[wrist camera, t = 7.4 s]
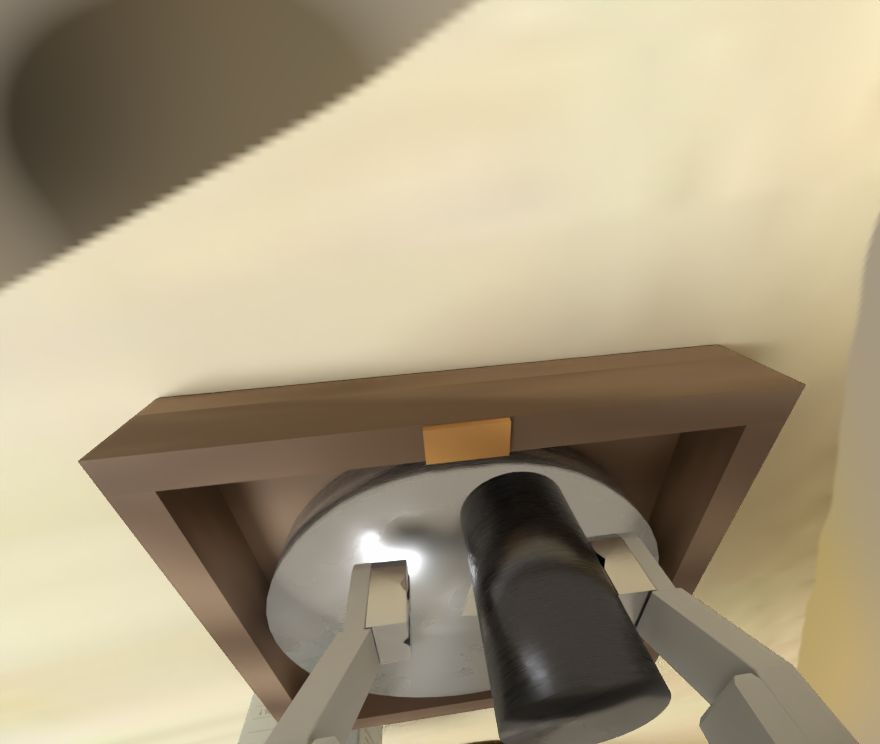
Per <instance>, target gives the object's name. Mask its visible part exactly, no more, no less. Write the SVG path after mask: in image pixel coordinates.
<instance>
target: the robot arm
mask: <svg viewBox="0 0 880 744" xmlns="http://www.w3.org/2000/svg"><path fill="white" fill-rule="evenodd" d="M587 539H588V541H589V543H590V545H591V547H592V548H593V550H594V552H595V554H596V556H597V558H598V560H599V561H600V563H601V565H602V567H603V569H604V571H605V572H606V574H607V576H608V578H609V580H610V582H611V584H612V585H613V587H614V589H615V591H616V593H617V595H618V596H619V598H620V600H621V602H622V604H623V606H624V607H625V609H626V611H627V613H628V615H629V617H630V619H631V620H632V622H633V624H634V626H635V628H636V630H637V631H638V633H639V635H640V637H642V638H643V639H644V640H645V641H646V642H647V643H648V644H649V645H650V646H651V647H652V648H653V649H654V650H655V651H656V652H657V653H658V654H659V655H660V656H661V657H662V658H663V659H664V660H665V661H666V662H667V663H668V664H669V665H670V666H671V667H672V668H673V669H674V670H675V671H676V672H678V673H679V674H680V675H681V676H682V677H683V678H684V679H685V680H686V681H687V682H688V683H689V684H690V685H691V686H692V687H693V688H694V689H695V690H696V691H697V692H698V693H699V694H700V695H701V696H702V697H703V698H704V699H705V700H706V701H707V702H708V703H709V704H710V705H711V706H710V707H709V708H708V709H707V711H706V712H705V713H704V714H703V716H702V717H701V719H700V725H699V726H700V728H701V730H702V731H703V733H704V735H705V737H706V739H707V740H708V742H709V744H859V743H858V742H857V741H856V739H855V738H854V737H853V736H852V735H851V734H850V732H849V731H848V730H847V729H846V728H845V726H844V725H843V724H842V723H841V722H840V721H839V720H838V718H837V717H836V716H835V715H834V713H833V712H832V711H831V710H830V709H829V708H828V707H827V705H826V704H825V703H824V702H823V701H822V699H821V698H820V697H819V696H818V695H817V693H816V692H815V691H814V690H813V689H812V688H811V686H810V685H809V684H808V683H807V682H806V681H805V679H804V678H803V677H802V676H801V674H800V673H799V672H798V671H797V670H796V668H795V667H794V666H793V665H792V664H790V663H789V662H787V661H786V660H785V659H783V658H782V657H780V656H779V655H777V654H776V653H774V652H773V651H772V650H770V649H769V648H767V647H766V646H764V645H763V644H761V643H760V642H759V641H757V640H756V639H754V638H753V637H751V636H750V635H748V634H747V633H746V632H744V631H743V630H741V629H740V628H738V627H737V626H735V625H734V624H733V623H731V622H730V621H728V620H727V619H725V618H724V617H722V616H721V615H720V614H718V613H717V612H715V611H714V610H712V609H711V608H709V607H708V606H707V605H705V604H704V603H702V602H701V601H699V600H698V599H696V598H695V597H694V596H692V595H691V594H689V593H688V592H686V591H685V590H684V589H682V588H675V586H674V585H673V584H672V582H671V581H670V579H669V578H668V577H667V575H666V574H665V572H664V571H663V570H662V568H661V567H660V565H659V564H658V563H657V561H656V560H655V559H654V557H653V556H652V554H651V553H650V552H649V550H648V549H647V547H646V546H645V545H644V543H643V542H642V540H641V539H640V538H639V536H638V535H637V534H635V533H634V532H625V533H617V534H615V533H614V534H607V535H600V536H592V537H587ZM410 613H411V587H410V577H409V575H408V563H407V559H400V560H392V561H383V562H374V563H373V562H371V563H363V564H355V565H354V567H353V570H352V573H351V580H350V587H349V594H348V601H347V608H346V614H345V621H344V628H343V632H338V633H337V634H336V635H335V637H334V638H333V640H332V642H331V643H330V645H329V646H328V648H327V649H326V651H325V652H324V654H323V655H322V657H321V658H320V660H319V661H318V663H317V664H316V666H315V667H314V669H313V670H312V672H311V673H310V675H309V676H308V678H307V679H306V681H305V683H304V684H303V686H302V687H301V689H300V690H299V692H298V693H297V695H296V696H295V698H294V699H293V701H292V702H291V704H290V705H289V707H288V708H287V710H286V711H285V713H284V714H283V716H282V717H281V719H280V720H279V722H278V724H277V725H276V727H275V728H274V730H273V731H272V733H271V734H270V736H269V737H268V739H267V740H266V742H265V743H264V744H345V743H346V740H347V738H348V736H349V734H350V732H351V730H352V728H353V725H354V723H355V721H356V719H357V717H358V715H359V712H360V710H361V708H362V706H363V704H364V702H365V699H366V697H367V695H368V693H369V691H370V689H371V687H372V684H373V682H374V680H375V678H376V676H377V674H378V671H379V669H380V664H385V663H391V662H397V661H403V660H409V659H412V628H411V621H410V616H409V615H410Z"/></svg>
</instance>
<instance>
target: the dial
mask: <svg viewBox="0 0 880 744" xmlns="http://www.w3.org/2000/svg"><path fill="white" fill-rule="evenodd" d="M625 532H634V533H635V534H637V535H638V536H639V538H640V539H641V540H642V542H643V543H644V545H645V546H646V547H647V549H648V550H649V552H650V553H651V554H652V556H653V557H654V559H655V560H656V561H657V563H658V560H659V555H658V548H657V542H656V539H655V537H654V535H653V532H652V530H651V528H650V526H649V525H648V523H647V522H646V521H645V519H644V518H643V517H642V515H641V514H640V513H639V511H638V510H637V509H636V507H635V506H634V505H633V503H632V502H631V501H630V499H629V498H628V497H627V495H626V494H625V493H624V491H623V490H622V489H621V487H620V486H619V485H618V483H617V482H616V481H615V480H614V478H613V477H612V476H611V475H610V474H609V473H608V472H607V471H606V470H604V469H603V468H602V467H601V466H600V465H599V464H597V463H596V462H594V461H593V460H591V459H590V458H588V457H586V456H585V455H583V454H582V453H579V452H577V451H575V450H572V449H570V448H568V447H566V446H557V447H548V448H539V449H530V450H521V451H513V452H509V456H500V457H491V458H482V459H474V460H465V461H456V462H447V463H438V464H429V465H426V461H423V462H414V463H405V464H396V465H388V466H379V467H370V468H361V469H352V470H349V471H347V472H345V473H344V474H342V475H341V476H340V477H338V478H337V479H335V480H334V481H333V482H331V483H330V484H328V485H327V486H326V487H325V488H324V489H322V490H321V491H320V492H319V493H318V494H317V495H316V496H315V497H314V498H313V499H312V500H311V501H310V502H309V503H308V504H307V505H306V507H305V508H304V509H303V511H302V512H301V513H300V515H299V516H298V517H297V518H296V520H295V522H294V524H293V526H292V528H291V530H290V532H289V534H288V536H287V539H286V542H285V544H284V547H283V550H282V553H281V556H280V559H279V562H278V564H277V567H276V570H275V573H274V576H273V579H272V582H271V585H270V589H269V592H268V596H267V606H266V615H267V620H268V625H269V629H270V631H271V633H272V635H273V637H274V639H275V641H276V643H277V644H278V646H279V647H280V648H281V649H282V651H283V652H284V653H285V654H286V655H287V656H288V657H289V658H290V659H291V660H292V661H294V662H295V663H296V664H297V665H298V666H300V667H301V668H303V669H305V670H306V671H308V672H309V673H311V672H312V670H313V669H314V667H315V666H316V664H317V663H318V661H319V660H320V658H321V657H322V655H323V654H324V652H325V651H326V649H327V648H328V646H329V645H330V643H331V642H332V640H333V638H334V637H335V635H336V634H337V633H338V632H343V628H344V621H345V614H346V608H347V601H348V594H349V587H350V580H351V573H352V570H353V567H354V565H355V564H363V563H371V562H373V563H374V562H383V561H392V560H400V559H407V563H408V575H409V577H410V587H411V613H410V615H409V616H410V621H411V628H412V659H409V660H403V661H397V662H391V663H385V664H380V669H379V671H378V674H377V676H376V678H375V680H374V682H373V684H372V687H371V689H370V691H369V693H371V694H377V695H386V696H395V697H443V696H456V695H463V694H470V693H477V692H482V691H487V690H491V694H492V699H493V705H494V711H495V716H496V722H497V727H498V733H499V738H500V740H501V741H502V742H503V743H504V744H597V743H601V742H604V741H607V740H610V739H613V738H616V737H619V736H621V735H624V734H626V733H628V732H631V731H633V730H635V729H637V728H639V727H641V726H643V725H645V724H646V723H648V722H650V721H651V720H653V719H654V718H655V717H657V716H658V715H659V714H660V713H661V712H662V711H663V710H664V709H665V708H666V707H667V706H668V704H669V702H670V699H671V693H670V690H669V689H668V687H667V685H666V683H665V681H664V679H663V677H662V676H661V674H660V672H659V670H658V668H657V666H656V665H655V663H654V661H653V659H652V657H651V655H650V654H649V652H648V650H647V648H646V646H645V644H644V642H643V641H642V639H641V637H640V635H639V633H638V631H637V630H636V628H635V626H634V624H633V622H632V620H631V619H630V617H629V615H628V613H627V611H626V609H625V607H624V606H623V604H622V602H621V600H620V598H619V596H618V595H617V593H616V591H615V589H614V587H613V585H612V584H611V582H610V580H609V578H608V576H607V574H606V572H605V571H604V569H603V567H602V565H601V563H600V561H599V560H598V558H597V556H596V554H595V552H594V550H593V548H592V547H591V545H590V543H589V541H588V539H587V537H592V536H600V535H607V534H614V533H615V534H617V533H625Z"/></svg>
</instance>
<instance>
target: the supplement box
mask: <svg viewBox="0 0 880 744" xmlns="http://www.w3.org/2000/svg"><path fill="white" fill-rule="evenodd" d="M277 724H278V723H277V721H276V720H275V719H274V717H273V716H272V715H271V713H270V712H269V711H268V710H267V708H266V707H265V706H264V704H263V703H262V702H261V700H260V699H259V698H258V696H257V695H256V694H255V693H254V695H253V697H252V700H251V703H250V706H249V709H248V712H247V716H246V719H245V722H244V725H243V729H242V732H241V735H240V738H239V742H238V744H264V743H265V742H266V740H267V739H268V737H269V736H270V734H271V733H272V731H273V730H274V728H275V727H276V725H277ZM382 729H383V725H380V726H374V727H368V728H361V729H355V730H351V732H350V734H349V736H348V738H347V740H346V743H345V744H382Z"/></svg>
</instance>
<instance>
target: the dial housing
mask: <svg viewBox="0 0 880 744" xmlns="http://www.w3.org/2000/svg"><path fill="white" fill-rule="evenodd" d="M804 387H805V384H803V383H801V382H799V381H797V380H794V379H792V378H790V377H788V376H786V375H784V374H781V373H779V372H777V371H775V370H773V369H770V368H768V367H766V366H764V365H762V364H759V363H757V362H755V361H753V360H751V359H748V358H746V357H744V356H742V355H740V354H738V353H735V352H733V351H731V350H729V349H727V348H724V347H722V346H720V345H710V346H699V347H689V348H678V349H668V350H657V351H647V352H637V353H626V354H616V355H605V356H595V357H584V358H574V359H564V360H553V361H543V362H532V363H522V364H511V365H501V366H490V367H480V368H470V369H459V370H449V371H438V372H428V373H417V374H407V375H397V376H386V377H376V378H365V379H355V380H344V381H334V382H323V383H313V384H303V385H292V386H282V387H271V388H261V389H250V390H240V391H230V392H219V393H209V394H198V395H188V396H177V397H167V398H157V399H155V400H154V401H153V402H152V403H150V404H149V405H148V406H147V407H145V408H144V409H143V410H142V411H140V412H139V413H138V414H137V415H135V416H134V417H133V418H132V419H130V420H129V421H128V422H126V423H125V424H124V425H123V426H121V427H120V428H119V429H118V430H116V431H115V432H114V433H113V434H111V435H110V436H109V437H108V438H106V439H105V440H104V441H103V442H101V443H100V444H99V445H98V446H96V447H95V448H94V449H93V450H91V451H90V452H89V453H88V454H86V455H85V456H84V457H83V458H81V459H80V460H79V461H78V462H79V463H80V465H81V466H82V467H83V469H84V470H85V471H86V473H87V474H88V475H89V477H90V478H91V479H92V480H93V482H94V483H95V484H96V486H97V487H98V488H99V490H100V491H101V492H102V494H103V495H104V496H105V497H106V499H107V500H108V501H109V503H110V504H111V505H112V507H113V508H114V509H115V511H116V512H117V513H118V514H119V516H120V517H121V518H122V520H123V521H124V522H125V524H126V525H127V526H128V528H129V529H130V530H131V532H132V533H133V534H134V535H135V537H136V538H137V539H138V541H139V542H140V543H141V545H142V546H143V547H144V549H145V550H146V551H147V552H148V554H149V555H150V556H151V558H152V559H153V560H154V562H155V563H156V564H157V566H158V567H159V568H160V569H161V571H162V572H163V573H164V575H165V576H166V577H167V579H168V580H169V581H170V583H171V584H172V585H173V587H174V588H175V589H176V590H177V592H178V593H179V594H180V596H181V597H182V598H183V600H184V601H185V602H186V604H187V605H188V606H189V607H190V609H191V610H192V611H193V613H194V614H195V615H196V617H197V618H198V619H199V621H200V622H201V623H202V624H203V626H204V627H205V628H206V630H207V631H208V632H209V634H210V635H211V636H212V638H213V639H214V640H215V641H216V643H217V644H218V645H219V647H220V648H221V649H222V651H223V652H224V653H225V655H226V656H227V657H228V659H229V660H230V661H231V662H232V664H233V665H234V666H235V668H236V669H237V670H238V672H239V673H240V674H241V676H242V677H243V678H244V679H245V681H246V682H247V683H248V685H249V686H250V687H251V689H252V690H253V691H254V693H255V694H256V695H257V696H258V698H259V699H260V700H261V702H262V703H263V704H264V706H265V707H266V708H267V710H268V711H269V712H270V713H271V715H272V716H273V717H274V719H275V720H276V721H277V723H278V722H279V720H280V719H281V717H282V716H283V714H284V713H285V711H286V710H287V708H288V707H289V705H290V704H291V702H292V701H293V699H294V698H295V696H296V695H297V693H298V692H299V690H300V689H301V687H302V686H303V684H304V683H305V681H306V679H307V678H308V676H309V675H310V673H309V672H308V671H306V670H305V669H303V668H301V667H300V666H298V665H297V664H296V663H295V662H294V661H292V660H291V659H290V658H289V657H288V656H287V655H286V654H285V653H284V652H283V651H282V649H281V648H280V647H279V646H278V644H277V643H276V641H275V639H274V637H273V635H272V633H271V631H270V629H269V625H268V620H267V615H266V606H267V596H268V592H269V589H270V585H271V582H272V579H273V576H274V573H275V570H276V567H277V564H278V562H279V559H280V556H281V553H282V550H283V547H284V544H285V542H286V539H287V536H288V534H289V532H290V530H291V528H292V526H293V524H294V522H295V520H296V518H297V517H298V516H299V515H300V513H301V512H302V511H303V509H304V508H305V507H306V505H307V504H308V503H309V502H310V501H311V500H312V499H313V498H314V497H315V496H316V495H317V494H318V493H319V492H320V491H321V490H322V489H324V488H325V487H326V486H327V485H328V484H330V483H331V482H333V481H334V480H335V479H337V478H338V477H340V476H341V475H342V474H344V473H345V472H347V471H349V470H352V469H361V468H370V467H379V466H388V465H396V464H405V463H414V462H423V461H426V465H429V464H438V463H447V462H456V461H465V460H474V459H482V458H491V457H500V456H509V452H513V451H521V450H530V449H539V448H548V447H557V446H566V447H568V448H570V449H572V450H575V451H577V452H579V453H582V454H583V455H585V456H586V457H588V458H590V459H591V460H593V461H594V462H596V463H597V464H599V465H600V466H601V467H602V468H603V469H604V470H606V471H607V472H608V473H609V474H610V475H611V476H612V477H613V478H614V480H615V481H616V482H617V483H618V485H619V486H620V487H621V489H622V490H623V491H624V493H625V494H626V495H627V497H628V498H629V499H630V501H631V502H632V503H633V505H634V506H635V507H636V509H637V510H638V511H639V513H640V514H641V515H642V517H643V518H644V519H645V521H646V522H647V523H648V525H649V526H650V528H651V530H652V532H653V535H654V537H655V539H656V542H657V548H658V555H659V560H658V564H659V565H660V567H661V568H662V570H663V571H664V572H665V574H666V575H667V577H668V578H669V579H670V581H671V582H672V584H673V585H674V586H675V588H682V589H684V590H685V591H686V592H688V593H689V594H691V595H692V594H693V592H694V590H695V588H696V586H697V584H698V583H699V581H700V579H701V577H702V575H703V573H704V571H705V570H706V568H707V566H708V564H709V562H710V560H711V559H712V557H713V555H714V553H715V551H716V549H717V547H718V546H719V544H720V542H721V540H722V538H723V536H724V535H725V533H726V531H727V529H728V527H729V525H730V523H731V522H732V520H733V518H734V516H735V514H736V512H737V511H738V509H739V507H740V505H741V503H742V501H743V499H744V498H745V496H746V494H747V492H748V490H749V488H750V487H751V485H752V483H753V481H754V479H755V477H756V475H757V474H758V472H759V470H760V468H761V466H762V464H763V463H764V461H765V459H766V457H767V455H768V453H769V451H770V450H771V448H772V446H773V444H774V442H775V440H776V439H777V437H778V435H779V433H780V431H781V429H782V427H783V426H784V424H785V422H786V420H787V418H788V416H789V415H790V413H791V411H792V409H793V407H794V405H795V403H796V402H797V400H798V398H799V396H800V394H801V392H802V390H803V389H804ZM641 639H642V641H643V642H644V644H645V646H646V648H647V650H648V652H649V654H650V655H651V657H652V659H653V661H654V663H655V662H656V660H657V658H658V656H659V654H658V653H657V652H656V651H655V650H654V649H653V648H652V647H651V646H650V645H649V644H648V643H647V642H646V641H645V640H644V639H643V638H642V637H641ZM493 707H494V705H493V699H492V694H491V690H487V691H482V692H477V693H470V694H463V695H456V696H443V697H395V696H386V695H377V694H371V693H368V695H367V697H366V699H365V702H364V704H363V706H362V708H361V710H360V712H359V715H358V717H357V719H356V721H355V723H354V725H353V728H352V730H355V729H361V728H368V727H374V726H380V725H386V724H393V723H399V722H405V721H412V720H418V719H424V718H430V717H437V716H443V715H449V714H456V713H462V712H468V711H474V710H481V709H487V708H493Z"/></svg>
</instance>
